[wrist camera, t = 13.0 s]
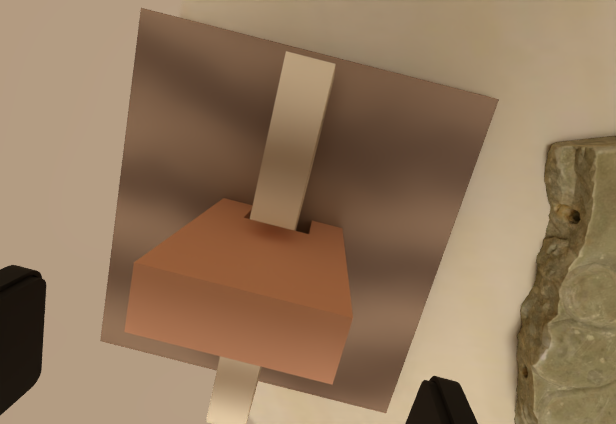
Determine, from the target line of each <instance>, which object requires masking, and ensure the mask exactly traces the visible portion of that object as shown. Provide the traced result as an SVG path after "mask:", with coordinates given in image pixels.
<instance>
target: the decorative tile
mask: <svg viewBox="0 0 616 424" xmlns="http://www.w3.org/2000/svg"><path fill="white" fill-rule="evenodd" d="M544 177H545V178H544V182H545V184H546V191H547V197H548V201H549V204H550V207H551V209H550V214H549V223H548V226H547V229H546V237H545V238H544V240H543V246H542V248H541V250H540V252H539V254H538V255H537V259H536V262H537V274H536V281H535V283H534V286H533V288H532V290H531V291H530V293H529V295H528V296H527V297H526V299H525V300H524V302H523V304H522V306H521V310H520V312H521V320H522V323H523V325H522V327H521V330H520V332H519V334H518V335H517V338H518V340H519V342H518V346H517V350H518V351H517V359H518V360H517V363H518V370H519V372H518V374H519V375H518V386H517V396H518V400H517V404H516V408H515V418H514V420H515V424H616V136H609V137H600V138H591V139H581V140H574V141H564V142H557V143H555V144H553V145H552V146H551V148H550V151H549V152H548V153H547V162H546V165H545V176H544Z"/></svg>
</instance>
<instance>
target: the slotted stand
mask: <svg viewBox="0 0 616 424" xmlns="http://www.w3.org/2000/svg"><path fill="white" fill-rule="evenodd" d="M498 101H499V99H495V98H491V97H487V96H483V95H480V94H476V93H472V92H468V91H464V90H460V89H456V88H452V87H448V86H444V85H441V84H437V83H433V82H429V81H425V80H421V79H417V78H413V77H409V76H405V75H401V74H398V73H394V72H390V71H386V70H382V69H378V68H374V67H370V66H366V65H362V64H358V63H355V62H351V61H347V60H343V59H339V58H335V57H331V56H327V55H323V54H319V53H316V52H312V51H308V50H304V49H300V48H296V47H292V46H288V45H284V44H280V43H276V42H273V41H269V40H265V39H261V38H257V37H253V36H249V35H245V34H241V33H237V32H234V31H230V30H226V29H222V28H218V27H214V26H210V25H206V24H202V23H198V22H194V21H191V20H187V19H183V18H179V17H175V16H171V15H167V14H163V13H159V12H155V11H151V10H147V9H144V8H141V12H140V21H139V29H138V37H137V45H136V53H135V62H134V70H133V78H132V87H131V95H130V103H129V111H128V119H127V127H126V135H125V144H124V153H123V160H122V168H121V176H120V185H119V194H118V202H117V210H116V218H115V226H114V234H113V242H112V250H111V258H110V267H109V275H108V284H107V292H106V300H105V309H104V316H103V324H102V332H101V341H103V342H106V343H110V344H114V345H118V346H122V347H126V348H131V349H135V350H138V351H142V352H146V353H150V354H154V355H158V356H162V357H166V358H170V359H174V360H178V361H182V362H185V363H189V364H193V365H197V366H201V367H206V368H209V369H213V370H217V373H216V378H215V382H214V387H213V391H212V396H211V401H210V405H209V410H208V414H207V419H206V422H209V423H213V424H246V422H247V419H248V416H249V412H250V408H251V405H252V401H253V397H254V394H255V390H256V387H257V383H258V381H261V382H265V383H269V384H272V385H276V386H280V387H284V388H288V389H292V390H296V391H300V392H304V393H308V394H312V395H316V396H320V397H324V398H328V399H332V400H336V401H340V402H344V403H348V404H352V405H356V406H360V407H363V408H367V409H371V410H375V411H379V412H383V413H386V412H387V409H388V406H389V403H390V401H391V398H392V395H393V392H394V389H395V387H396V384H397V381H398V378H399V376H400V373H401V370H402V367H403V364H404V362H405V359H406V356H407V353H408V351H409V348H410V345H411V342H412V339H413V337H414V334H415V331H416V328H417V326H418V323H419V320H420V317H421V314H422V312H423V309H424V306H425V303H426V301H427V298H428V295H429V292H430V289H431V287H432V284H433V281H434V278H435V276H436V273H437V270H438V267H439V264H440V262H441V259H442V256H443V253H444V251H445V248H446V245H447V242H448V239H449V237H450V234H451V231H452V228H453V226H454V223H455V220H456V217H457V214H458V212H459V209H460V206H461V203H462V201H463V198H464V195H465V192H466V189H467V187H468V184H469V181H470V178H471V176H472V173H473V170H474V167H475V164H476V162H477V159H478V156H479V153H480V151H481V148H482V145H483V142H484V139H485V137H486V134H487V131H488V128H489V126H490V123H491V120H492V117H493V114H494V112H495V109H496V106H497V103H498ZM223 198H225V199H229V200H233V201H237V202H241V203H245V204H249V205H253V206H252V211H251V215H250V219H251V220H255V221H259V222H263V223H266V224H270V225H274V226H278V227H282V228H286V229H290V230H294V231H298V232H302V233H306V234H308V233H309V230H310V226H311V222H312V221H316V222H320V223H324V224H328V225H332V226H335V227H339V228H342V229H343V238H344V246H345V254H346V263H347V271H348V279H349V288H350V296H351V304H352V313H353V320H352V323H351V327H350V330H349V333H348V336H347V339H346V343H345V346H344V349H343V352H342V356H341V359H340V362H339V365H338V369H337V372H336V375H335V378H334V381H333V385H332V384H328V383H324V382H320V381H316V380H312V379H308V378H304V377H300V376H296V375H292V374H288V373H284V372H280V371H276V370H272V369H268V368H264V367H260V366H256V365H253V364H249V363H245V362H241V361H237V360H233V359H229V358H225V357H221V356H217V355H213V354H209V353H205V352H201V351H197V350H193V349H189V348H185V347H181V346H177V345H173V344H169V343H166V342H162V341H158V340H154V339H150V338H146V337H142V336H138V335H134V334H130V333H126V332H124V330H125V323H126V316H127V309H128V302H129V294H130V287H131V280H132V273H133V266H134V262H135V261H137V260H138V259H139V258H141V257H142V256H144V255H145V254H146V253H148V252H149V251H151V250H152V249H153V248H155V247H156V246H158V245H159V244H160V243H162V242H163V241H165V240H166V239H167V238H169V237H170V236H171V235H173V234H174V233H176V232H177V231H178V230H180V229H181V228H183V227H184V226H185V225H187V224H188V223H190V222H191V221H192V220H194V219H195V218H197V217H198V216H199V215H201V214H202V213H204V212H205V211H206V210H208V209H209V208H211V207H212V206H213V205H215V204H216V203H217V202H219V201H220V200H222V199H223Z"/></svg>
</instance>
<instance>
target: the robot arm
mask: <svg viewBox="0 0 616 424" xmlns="http://www.w3.org/2000/svg"><path fill="white" fill-rule="evenodd" d="M45 297H46V282H45V280H43V279H42V276H41V274H40V272H38V271H35V270H32V269H28V268H24V267H20V266H16V265H11V266H7V267H5V268H3V269H1V270H0V415H1V414H2V413H4V412H5V411H6V410H7V409H8V408H9V407H10V406H11V405H13V403H15V402H16V401H17V400H18V399H19V398H20V397H21V396H23V395H24V394H25V393H26V392H27V391H28V390H29V389H31V387H33V386H34V384H35V383H36V382H37V380H38V378H39V376H40V373H41V367H42V348H43V332H44V314H45ZM406 424H478V423H477V421H476V419H475V416H474V414H473V412H472V410H471V407H470V405H469V403H468V401H467V399H466V396H465V394H464V392H463V390H462V387H461V386H460V384H459V383H458V382H456V381H452V380H448V379H444V378H440V377H437V376H433V377H432V378H431V379H430V380H429V381H427V380H424V381H423V382H422V384H421V386H420V388H419V391H418V393H417V396H416V398H415V401H414V403H413V406H412V408H411V411H410V414H409V416H408V419H407V421H406Z"/></svg>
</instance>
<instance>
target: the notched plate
mask: <svg viewBox="0 0 616 424" xmlns="http://www.w3.org/2000/svg"><path fill="white" fill-rule="evenodd" d="M252 206H253V205H249V204H245V203H241V202H237V201H233V200H229V199H225V198H223V199H222V200H220V201H219V202H217V203H216V204H215V205H213V206H212V207H211V208H209V209H208V210H206V211H205V212H204V213H202V214H201V215H199V216H198V217H197V218H195V219H194V220H192V221H191V222H190V223H188V224H187V225H185V226H184V227H183V228H181V229H180V230H178V231H177V232H176V233H174V234H173V235H171V236H170V237H169V238H167V239H166V240H165V241H163V242H162V243H160V244H159V245H158V246H156V247H155V248H153V249H152V250H151V251H149V252H148V253H146V254H145V255H144V256H142V257H141V258H139V259H138V260H137V261H135V262H134V266H133V273H132V280H131V287H130V294H129V302H128V309H127V316H126V323H125V330H124V332H126V333H130V334H134V335H138V336H142V337H146V338H150V339H154V340H158V341H162V342H166V343H169V344H173V345H177V346H181V347H185V348H189V349H193V350H197V351H201V352H205V353H209V354H213V355H217V356H221V357H225V358H229V359H233V360H237V361H241V362H245V363H249V364H253V365H256V366H260V367H264V368H268V369H272V370H276V371H280V372H284V373H288V374H292V375H296V376H300V377H304V378H308V379H312V380H316V381H320V382H324V383H328V384H332V385H333V381H334V378H335V375H336V372H337V369H338V365H339V362H340V359H341V356H342V352H343V349H344V346H345V343H346V339H347V336H348V333H349V330H350V327H351V323H352V320H353V313H352V304H351V296H350V288H349V279H348V271H347V263H346V254H345V246H344V238H343V229H342V228H339V227H335V226H332V225H328V224H324V223H320V222H316V221H312V222H311V226H310V230H309V233H308V234H306V233H302V232H298V231H294V230H290V229H286V228H282V227H278V226H274V225H270V224H266V223H263V222H259V221H255V220H251V219H250V215H251V211H252Z"/></svg>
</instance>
